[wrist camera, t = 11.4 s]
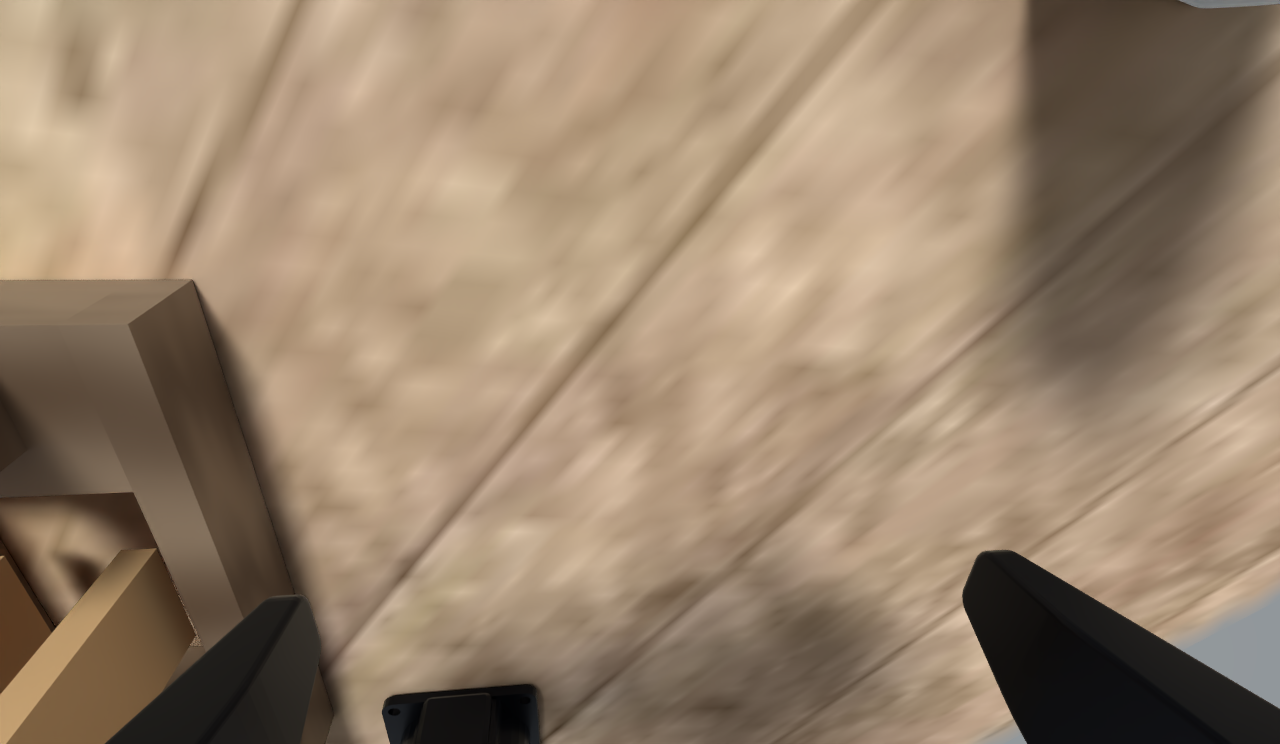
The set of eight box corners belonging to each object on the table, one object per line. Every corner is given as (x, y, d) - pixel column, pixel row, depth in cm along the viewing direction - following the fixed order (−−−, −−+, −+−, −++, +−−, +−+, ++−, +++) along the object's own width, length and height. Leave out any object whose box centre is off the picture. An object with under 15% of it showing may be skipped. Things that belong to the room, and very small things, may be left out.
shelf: (334, 714, 27) (256, 954, 20) (80, 737, 26) (-96, 1000, 19) (192, 280, 17) (-53, 448, 10) (-226, 281, 16) (-823, 474, 9)
